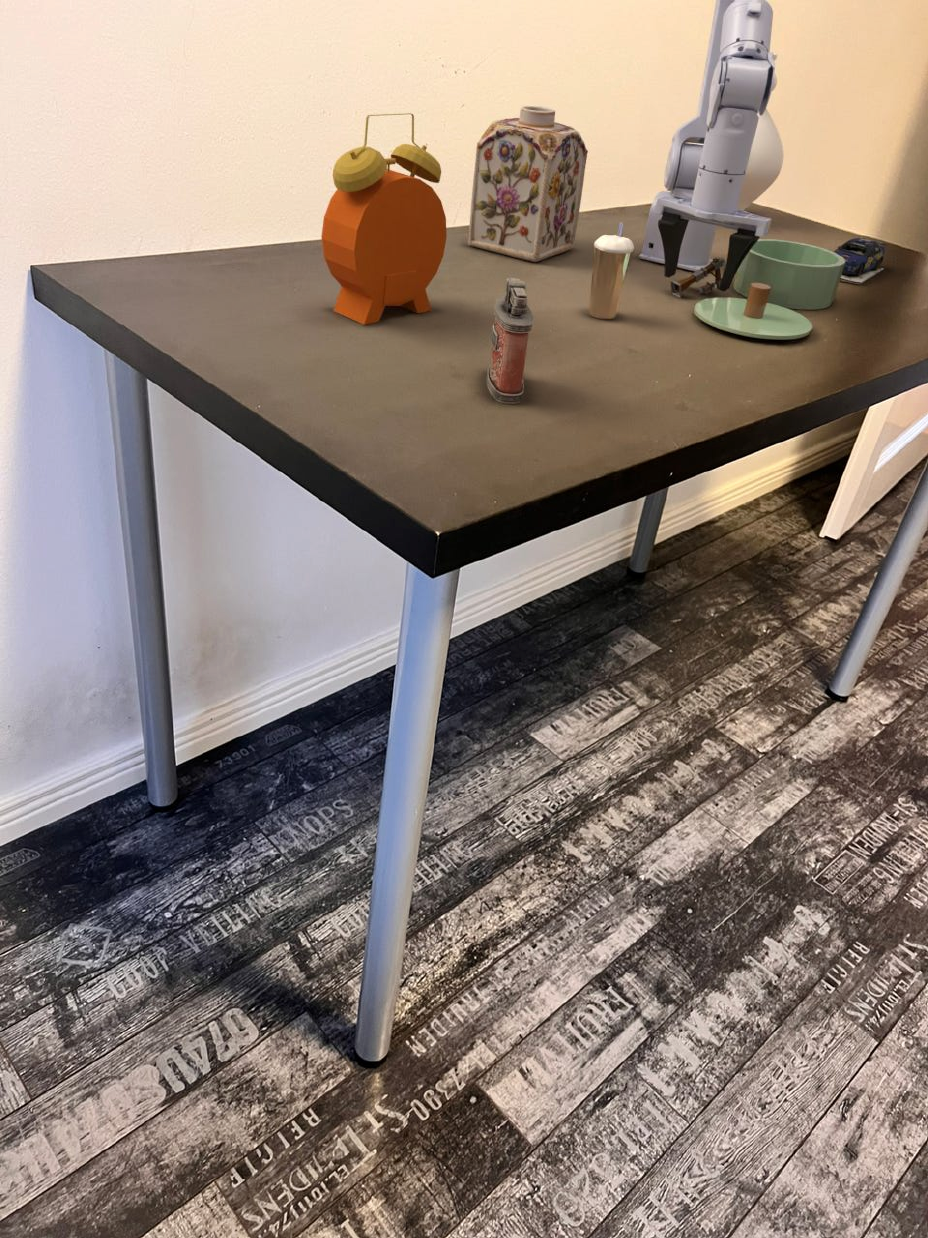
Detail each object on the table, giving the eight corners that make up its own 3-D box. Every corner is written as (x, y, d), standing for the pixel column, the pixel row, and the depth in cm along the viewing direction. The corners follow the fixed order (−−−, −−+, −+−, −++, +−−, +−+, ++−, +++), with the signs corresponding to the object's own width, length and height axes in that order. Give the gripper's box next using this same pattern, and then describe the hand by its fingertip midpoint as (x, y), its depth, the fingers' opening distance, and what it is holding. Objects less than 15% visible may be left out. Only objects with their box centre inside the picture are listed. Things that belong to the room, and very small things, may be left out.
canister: (719, 292, 127) (730, 249, 124) (750, 273, 137) (761, 233, 134) (817, 316, 122) (830, 272, 119) (842, 295, 132) (855, 254, 128)
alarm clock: (407, 294, 114) (417, 107, 103) (442, 308, 111) (457, 116, 99) (318, 311, 106) (318, 110, 94) (353, 327, 103) (358, 121, 91)
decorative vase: (666, 218, 162) (701, 48, 147) (665, 198, 176) (696, 41, 162) (772, 232, 160) (817, 62, 146) (762, 210, 175) (802, 53, 160)
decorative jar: (575, 250, 139) (596, 111, 128) (537, 264, 130) (556, 117, 120) (505, 232, 143) (520, 98, 133) (464, 245, 135) (476, 102, 125)
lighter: (483, 370, 96) (493, 268, 90) (516, 372, 96) (529, 271, 90) (491, 402, 89) (503, 294, 83) (527, 404, 90) (541, 297, 84)
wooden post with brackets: (731, 286, 126) (728, 255, 123) (682, 314, 125) (678, 283, 122) (722, 282, 128) (719, 251, 125) (674, 310, 127) (669, 279, 123)
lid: (675, 323, 114) (684, 283, 112) (715, 298, 125) (724, 261, 122) (791, 353, 109) (803, 312, 106) (822, 325, 119) (834, 287, 116)
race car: (858, 285, 137) (869, 253, 134) (813, 274, 139) (822, 242, 137) (885, 267, 147) (895, 237, 145) (842, 257, 150) (852, 227, 147)
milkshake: (625, 311, 116) (641, 225, 111) (616, 323, 112) (633, 235, 106) (589, 304, 117) (603, 219, 112) (579, 316, 113) (593, 228, 107)
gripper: (655, 162, 117) (634, 275, 125) (769, 185, 111) (739, 301, 119) (676, 156, 122) (654, 265, 130) (786, 178, 116) (757, 290, 124)
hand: (696, 282), depth 125 cm, fingers open, 7 cm apart
